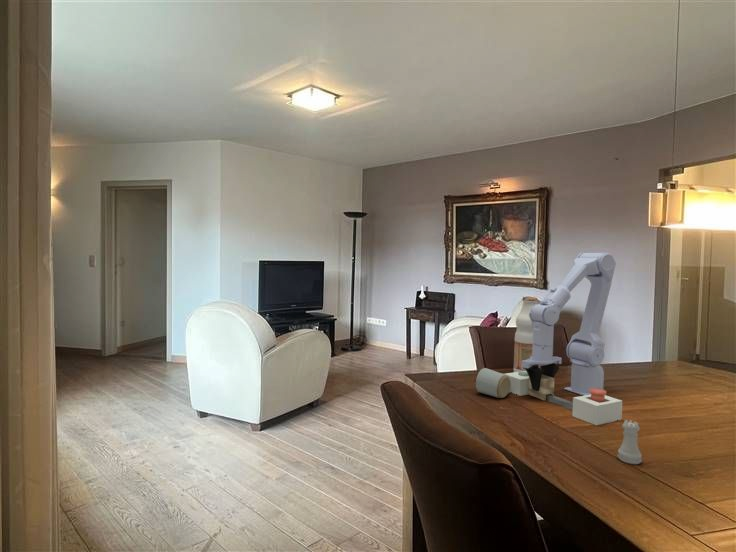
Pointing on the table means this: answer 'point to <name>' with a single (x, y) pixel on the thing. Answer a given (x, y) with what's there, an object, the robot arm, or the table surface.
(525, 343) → the fruit juice
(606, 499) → the table surface
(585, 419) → the white button housing
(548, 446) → the table surface
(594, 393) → the knob
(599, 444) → the table surface
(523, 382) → the white button box
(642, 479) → the table surface
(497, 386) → the ceramic mug
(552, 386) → the block
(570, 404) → the rail
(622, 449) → the rook chess piece
